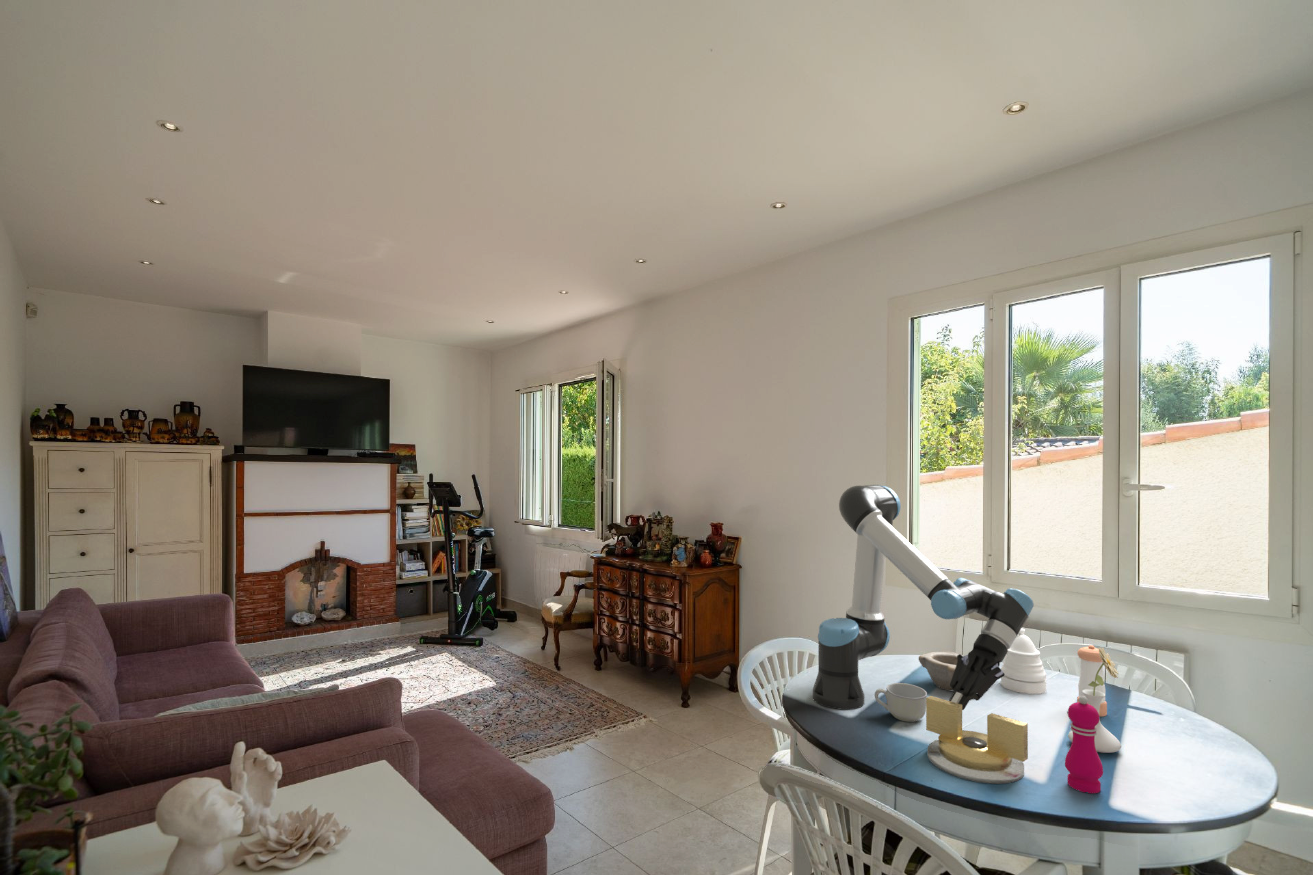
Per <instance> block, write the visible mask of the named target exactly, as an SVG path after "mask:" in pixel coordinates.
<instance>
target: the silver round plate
mask: <svg viewBox="0 0 1313 875" xmlns="http://www.w3.org/2000/svg"><path fill="white" fill-rule="evenodd" d="M927 758H928V760H929V762H930V763H931V764H933V766H935V767H936V768H938V769H939V770H941V771H943V772H945V773H947V774H949V775H951V776H954V777H957V778H960V779H964V780H967V781H971V782H976V783H983V784H991V785H992V784H993V785H994V784H996V785H997V784H999V785H1003V784H1011V782H1012V783H1015V782H1018V781H1020V780H1021V779H1022V778H1023V777H1024V776H1025V764H1024V762H1023V761H1020V760H1017V759H1014V758H1012V764H1011V765H1010V766H1009V767H1007V768H1003V769H996V770H988V769H978V768H973V767H968V766H965V765H961V764H958V763H956V762H954V761H951V760H949V759H948V758H946V757H945V756H943V755H942V754H941V753H940V751H939V739H936V740H934V741H932V742H930V743H929V744H928V745H927ZM1014 781H1015V782H1014Z"/></svg>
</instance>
